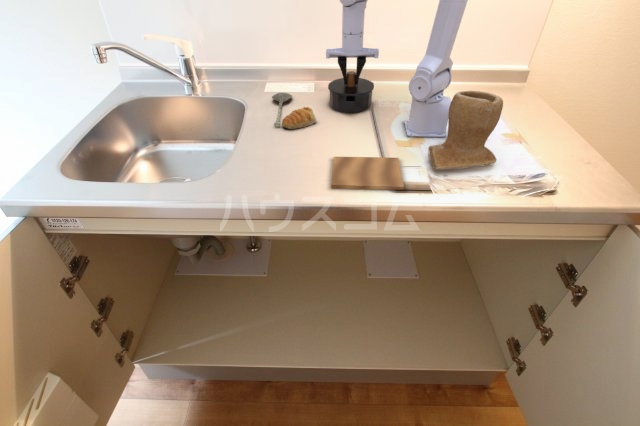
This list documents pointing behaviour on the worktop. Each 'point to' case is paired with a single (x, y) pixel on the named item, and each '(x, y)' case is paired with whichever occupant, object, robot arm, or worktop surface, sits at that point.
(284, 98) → the soupspoon
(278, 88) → the worktop surface
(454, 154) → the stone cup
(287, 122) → the pastry
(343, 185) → the board
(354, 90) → the lid
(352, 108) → the pot
